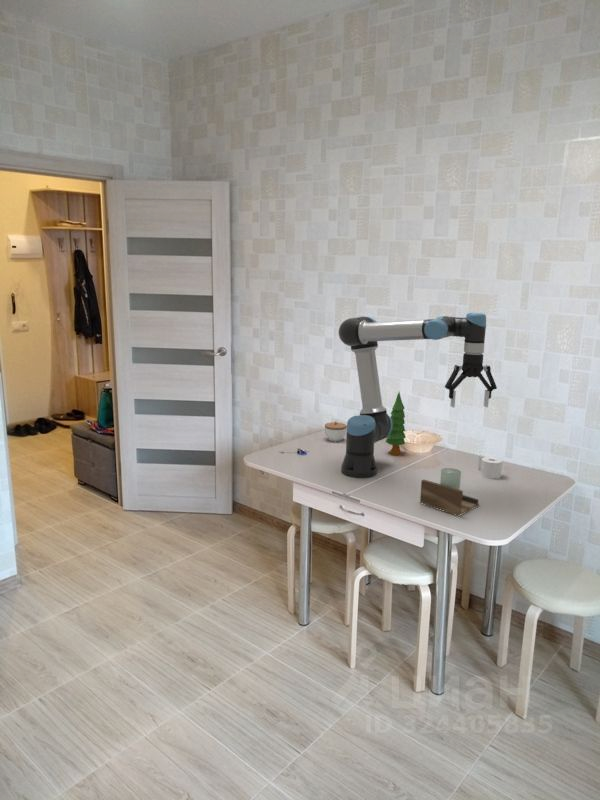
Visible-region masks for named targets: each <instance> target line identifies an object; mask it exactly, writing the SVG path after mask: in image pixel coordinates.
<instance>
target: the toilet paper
mask: <svg viewBox="0 0 600 800" xmlns="http://www.w3.org/2000/svg"><path fill="white" fill-rule="evenodd" d="M477 459H478V464H477V465H478V471H480V476H481V477H482V476H483V478H485V479H490V480H497V479H500V478H502V477H501V476H502V467H503V460H502V459H500V458H499V457H494V456H492V457H491V456H478V457H477Z"/></svg>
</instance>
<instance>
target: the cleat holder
mask: <svg viewBox="0 0 600 800" xmlns="http://www.w3.org/2000/svg"><path fill="white" fill-rule="evenodd" d="M463 492H464V491H463V490H461V489H460V490H458V489H455V488H451V487H448V486H444V485H441V484H440V483H437V482H433V481H431V480H429V479H421V486H420V500H419V504H420V503H423V504H426V505H429V506H432V507H435V508H438V509H441V510H444V511H447V512H446V513H448V512H450V513H449V514H451V513H453V514H452V515H454V514H456V515H455V516H457V515H460V514H462V513H464V512H466V511H467V512H469V511H471V510H473V509H475V508H477V507H478V506H479V504H480V503H479V499H478V498H475V497H472V496H469V495H465V494H463ZM423 504H422V505H423ZM426 505H425V506H426ZM429 506H428V507H429ZM476 506H477V507H476ZM432 507H431V508H432ZM474 507H475V508H474ZM435 508H434V509H435ZM472 508H473V509H472ZM438 509H437V510H438ZM470 509H471V510H470ZM441 510H440V511H441ZM468 510H469V511H468ZM444 511H443V512H444ZM467 512H466V513H467ZM464 514H465V513H464ZM462 515H463V514H462ZM460 516H461V515H460Z"/></svg>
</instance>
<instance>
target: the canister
mask: <svg viewBox="0 0 600 800" xmlns="http://www.w3.org/2000/svg"><path fill="white" fill-rule="evenodd" d="M461 475H462V471H461V470H460V469H457V468H454V467H453V468H451V467H447V468H446V467H445V468H442V469H441V470H440V481H439V484H441V485H444V486H448V487H451V488H455V489H458V490H461V479H462V478H461V477H462V476H461Z"/></svg>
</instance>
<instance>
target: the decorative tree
mask: <svg viewBox="0 0 600 800" xmlns="http://www.w3.org/2000/svg"><path fill="white" fill-rule="evenodd" d="M404 410H405V406H404V403H403V401H402V398H401V393H400V391H398V393H397V395H396V398H395V402H394V404H393V407H392V410H391V412H390V418H391V420H392V424H393V426H392V430H391V432H390V434H389V435H388V436H387V437H386V438H385V443H387V444H389V445H391V446H392V447H391V449H390V451H389V452H388V454H389V455H391V456H392V455H394V456H401V454H402V451H401V448H400V446H401V445H402V446H403V445H405V444H406V441H405V439H406V434H405V431H406V429H405V426H404V425H405V424H406V423H405V417H406V416H405V411H404ZM402 455H403V454H402Z"/></svg>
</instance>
